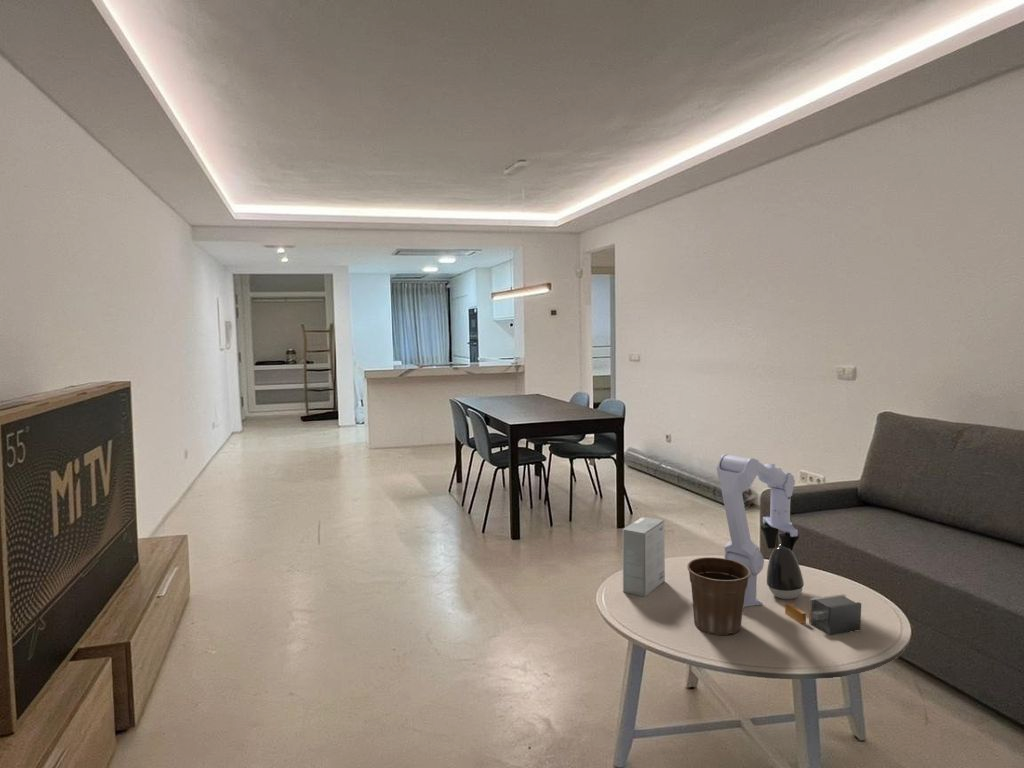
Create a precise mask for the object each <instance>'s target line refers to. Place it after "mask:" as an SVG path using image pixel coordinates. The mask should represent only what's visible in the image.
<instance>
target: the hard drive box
mask: <svg viewBox="0 0 1024 768" xmlns="http://www.w3.org/2000/svg"><path fill="white" fill-rule="evenodd" d="M665 554H666V553H665V520H664V519H659V518H654V517H649V516H648V517H647V516H642V517H640V518H639V519H638V518H637V520H636V521H634V522H632V523H631V524H629V525H628V526H625V528H623V529H622V592H624V593H627V594H631V595H635V596H640V597H644V598H645V597H646V596H647V595H649V594H650V593H651V592H652V591H653V590H655V589H656V588H657V587H658V586H660V585H661V584H662V583H663V582H665V580H666V579H665V578H666V577H665V576H666V571H665V570H666V569H665V568H666V567H665V566H666V564H665V563H666V562H665V559H666V558H665V556H666V555H665Z"/></svg>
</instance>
